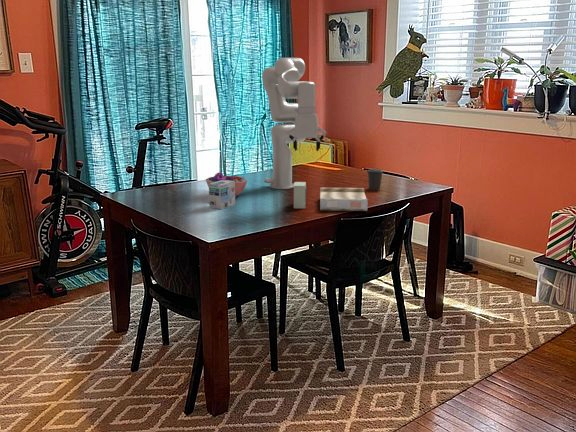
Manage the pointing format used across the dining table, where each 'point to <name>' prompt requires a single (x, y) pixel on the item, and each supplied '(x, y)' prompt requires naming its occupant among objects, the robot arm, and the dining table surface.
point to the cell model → (239, 181)
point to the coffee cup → (374, 178)
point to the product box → (299, 194)
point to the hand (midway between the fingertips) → (306, 150)
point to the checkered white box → (343, 199)
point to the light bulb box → (222, 194)
